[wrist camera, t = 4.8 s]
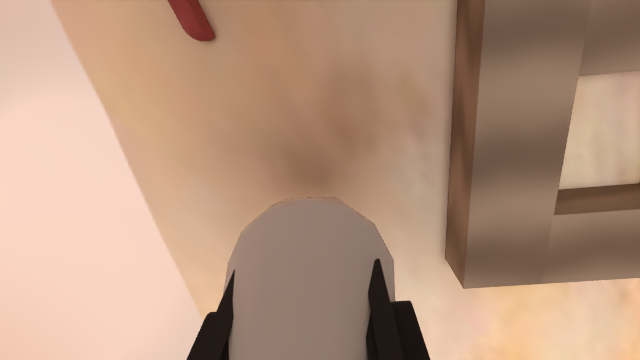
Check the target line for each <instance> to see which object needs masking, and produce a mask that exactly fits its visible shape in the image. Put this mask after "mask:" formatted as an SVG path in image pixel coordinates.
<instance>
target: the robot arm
mask: <svg viewBox="0 0 640 360" xmlns="http://www.w3.org/2000/svg"><path fill="white" fill-rule="evenodd" d="M234 276H235V269H234V271H233V273H232V276H231V278H230V280H229V283H228V285H227V288H226V290H225V292H224V295H223V297H222V300H221V302H220V304H219V307H218V309H217V312H210V313H209V314H207V316H206V318H205V320H204V322H203V324H202V326H201V329H200V331H199V333H198V335H197V337H196V340H195V342H194V344H193V346H192V349H191V351H190V353H189V356H188V358H187V360H229V336H230V331H231V327H232V323H233V319H234V313H233V290H234ZM368 297H369V304H370V310H371V312H370V317H369V323H368V328H367V333H366V345H367V354H368V360H430V357H429V354H428V351H427V348H426V345H425V342H424V339H423V336H422V333H421V330H420V327H419V324H418V321H417V318H416V315H415V312H414V309H413V306H412V303H411V302H410V301H395V302H390V298H389V294H388V290H387V286H386V282H385V278H384V274H383V270H382V266H381V262H380V259H379V258H378V259H375V261H374V265H373V270H372V275H371V280H370V284H369V289H368Z"/></svg>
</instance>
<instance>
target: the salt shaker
mask: <svg viewBox="0 0 640 360" xmlns="http://www.w3.org/2000/svg"><path fill="white" fill-rule="evenodd" d="M378 258H379V259H380V262H381V266H382V270H383V274H384V278H385V282H386V286H387V290H388V294H389V298H390V302H395V284H394V261H393V258H392V256H391V254H390V252H389V250H388V249H387V247H386V245H385V243H384V241H383V239H382V237H381V235H380V233H379V232H378V230H377V228H376V226H375V224H374V223H373V222H371V221H370V220H368V219H367V218H365V217H364V216H362V215H361V214H360V213H358V212H357V211H355V210H354V209H352V208H351V207H350V206H348V205H347V204H345V203H344V202H342V201H340V200H339V199H337V198H335V197H334V198H311V197H307V198H290V199H288V200H285V201H282V202H280V203H277V204H274V205H272V206H271V207H270V208H268V209H267V210H266V211H265V212H264V213H262V214H261V215H260V216H259V217H257V218H256V219H255V220H254V221H253V222H251V223H250V224H249V225H248V226H247V227H246V228H245V229H244V230H243V231H242V233H241V234H240V237H239V239H238V241H237V244H236V246H235V248H234V251H233V253H232V255H231V257H230V260H229V262H228V268H227V274H226V281H225V287H224V292H225V290H226V288H227V285H228V283H229V280H230V278H231V276H232V273H233V271H234V269H235V276H234V290H233V313H234V319H233V323H232V327H231V331H230V336H229V360H368V354H367V345H366V333H367V328H368V323H369V317H370V312H371V310H370V304H369V297H368V289H369V284H370V280H371V275H372V270H373V265H374V261H375V259H378ZM223 295H224V293H223Z"/></svg>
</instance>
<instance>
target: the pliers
mask: <svg viewBox="0 0 640 360" xmlns="http://www.w3.org/2000/svg"><path fill="white" fill-rule="evenodd" d="M168 2H169V4H170V5H171V7H172V9H173V11H174V13H175V14H176V16H177V18H178V20H179V22H180V24H181V25H182V27H183V29H184V30H185V32H186V33H187V34H188V35H189V36H191V37H192V38H194V39H196V40H199V41H209V40H212V39H213V38H215V34H214V32H213V30H212V28H211V26H210V24H209V22H208V20H207V18H206V16H205V14H204V12H203V10H202V8H201V6H200V4H199V2H198V0H168Z"/></svg>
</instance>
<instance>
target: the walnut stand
mask: <svg viewBox="0 0 640 360" xmlns="http://www.w3.org/2000/svg"><path fill="white" fill-rule="evenodd" d="M639 70H640V0H458V12H457V32H456V52H455V72H454V93H453V113H452V133H451V153H450V173H449V194H448V214H447V234H446V254H445V258H446V260H447V262H448V264H449V265H450V267H451V269H452V270H453V272H454V274H455V275H456V277H457V279H458V280H459V282H460V284H461V285H462V287H463V289H467V288H483V287H499V286H515V285H531V284H547V283H563V282H579V281H595V280H611V279H627V278H640V184H630V185H617V186H604V187H591V188H578V189H565V190H558V187H559V182H560V176H561V171H562V165H563V159H564V154H565V148H566V142H567V137H568V131H569V126H570V120H571V114H572V109H573V103H574V97H575V92H576V86H577V80H578V76H586V75H597V74H607V73H618V72H629V71H639Z"/></svg>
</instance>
